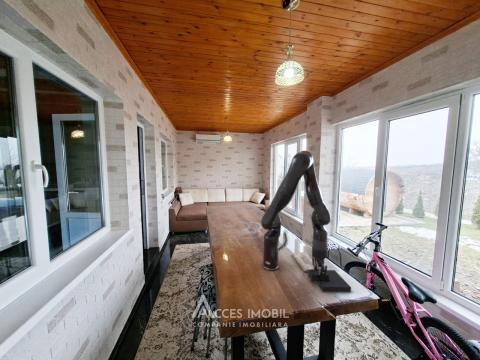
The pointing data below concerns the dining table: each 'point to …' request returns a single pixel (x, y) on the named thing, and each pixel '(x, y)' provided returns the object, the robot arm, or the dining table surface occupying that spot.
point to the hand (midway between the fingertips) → (318, 278)
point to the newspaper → (304, 261)
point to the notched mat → (334, 283)
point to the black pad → (314, 276)
